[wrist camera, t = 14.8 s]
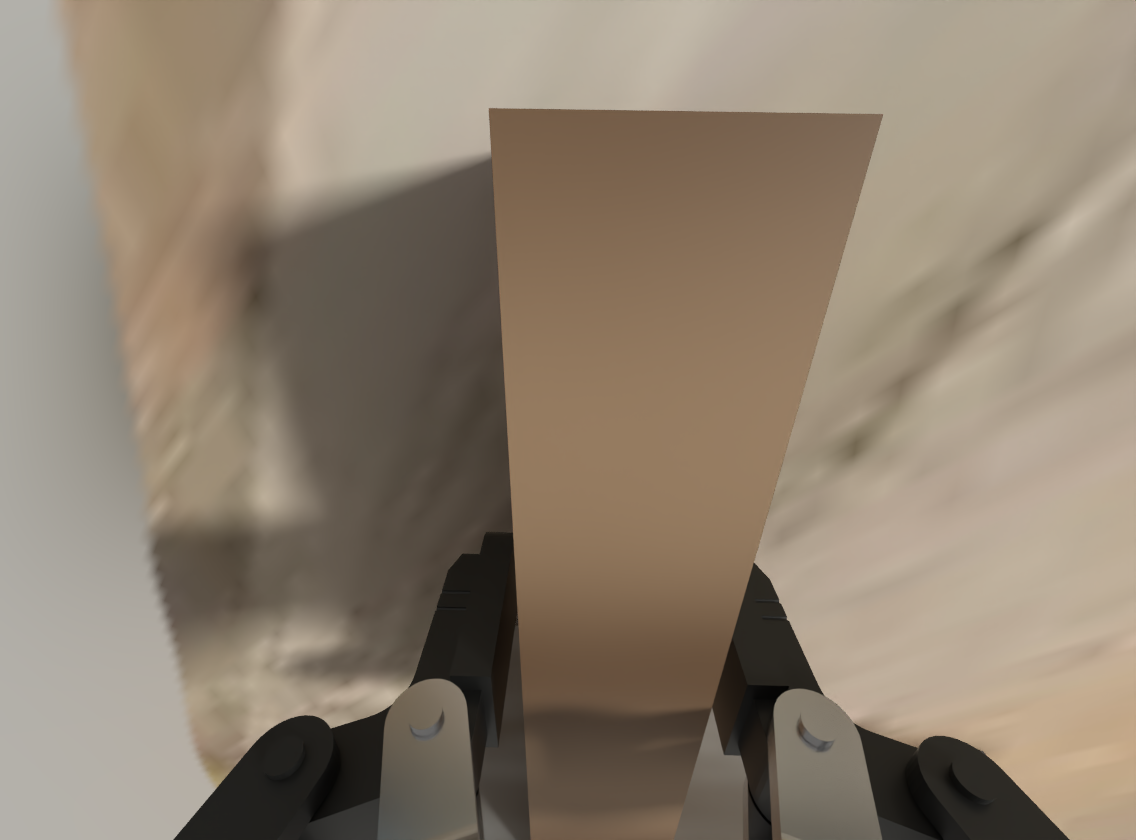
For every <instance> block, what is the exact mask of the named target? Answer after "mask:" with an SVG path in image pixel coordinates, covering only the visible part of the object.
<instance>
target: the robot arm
mask: <svg viewBox="0 0 1136 840" xmlns="http://www.w3.org/2000/svg"><path fill="white" fill-rule="evenodd" d="M516 615H517V591H516V574H515V557H514V539H513V533H506V532H486V534H485V536H484V540H483V544H482V548H481V552H480V554H462V555H461V556H460V557H459V559H458V560H457V561H456V562H455V563H454V564H453V566H452V567H451V568H450V569H449V570H448V573H447V576H446V580H445V583H444V586H443V589H442V594H441V595H440V598H439V601H438V605H437V610H436V611H435V614H434V617H433V620H432V623H431V627H430V630H429V633H428V636H427V639H426V642H425V645H424V648H423V652H422V655H421V658H420V661H419V664H418V667H417V670H416V673H415V676H414V678H413V681H412V682H411V684H410V686H409V687H408V689H406V690H405V691H404V692H403V693H402V694H401V695H400V696H399V697H398V698H397V699H396V700H395V702H394V703H393V704H392V705H391V706H390V707H388V708H387V709H385V710H383V711H381V712H380V713H378V714H375V715H373V716H370V717H367V718H364V719H361V720H357V721H354V722H351V723H348V724H344V725H341V726H338V727H335V728H332V729H330V727H329V725H328V724H327V723H326V722H325V721H324V720H322V719H320V718H319V717H315V716H307V715H305V716H298V717H294V718H290V719H288V720H286V721H283V722H281V723H279V724H278V725H276V726H274V727H273V728H271V729H270V730H269V731H267V732H266V733H265V734H264V735H263V736H261V737H260V738H259V739H258V740H257V741H256V743H255V744H254V745H253V746H252V747H251V748H250V749H249V751H248V752H247V753H246V754H245V755H244V756H243V758H242V759H241V760H240V761H239V762H238V764H237V765H236V766H235V767H234V768H233V770H232V771H231V772H230V773H229V774H228V775H227V777H226V778H225V779H224V780H223V781H222V783H221V784H220V785H219V786H218V787H217V789H216V790H215V791H214V792H213V793H212V795H211V796H210V797H209V798H208V799H207V800H206V802H205V803H204V804H203V805H202V806H201V808H200V809H199V810H198V811H197V812H196V813H195V815H194V816H193V817H192V818H191V819H190V821H189V822H188V823H187V824H186V826H185V827H184V828H183V829H182V830H181V831H180V832H179V834H178V835H177V836H176V837H175V839H174V840H485V837H484V826H483V816H482V806H481V795H480V785H479V783H480V778H481V772H482V766H483V760H484V753H485V747H495V748H498V747H499V739H500V732H501V725H502V718H503V710H504V703H505V696H506V688H507V681H508V674H509V666H510V659H511V652H512V645H513V637H514V630H515V623H516ZM712 709H713V713H714V717H715V721H716V725H717V729H718V733H719V737H720V741H721V746H722V750H723V754H724V755H734V756H741V758H742V762H743V765H744V769H745V773H746V777H745V780H744V784H743V840H1069V839H1068V838H1067V837H1066V836H1065V835H1064V833H1063V832H1062V831H1061V830H1060V829H1059V828H1058V827H1057V826H1056V825H1055V824H1054V823H1053V822H1052V821H1051V820H1050V819H1049V818H1048V817H1047V816H1046V815H1045V814H1044V813H1043V812H1042V811H1041V810H1040V808H1039V807H1038V806H1037V805H1036V804H1035V803H1034V802H1033V801H1032V800H1031V799H1030V798H1029V797H1028V796H1027V795H1026V794H1025V793H1024V792H1023V791H1022V790H1021V789H1020V788H1019V787H1018V786H1017V785H1016V783H1015V782H1014V781H1013V780H1012V779H1011V778H1010V777H1009V776H1008V775H1007V774H1006V773H1005V772H1004V771H1003V770H1002V769H1001V768H1000V767H999V766H998V765H997V764H996V763H995V762H994V761H992V760H991V759H990V758H989V757H987V756H986V755H985V754H983V753H982V752H981V751H979V750H978V749H976V748H974V747H972V746H971V745H969V744H967V743H965V742H962V741H960V740H958V739H954V738H951V737H946V736H933V737H929V738H927V739H926V740H924V741H923V742H922V743H921V745H920V746H919V747H918V748H916V747H913V746H910V745H907V744H904V743H902V742H899V741H896V740H893V739H890V738H887V737H884V736H881V735H879V734H876V733H873V732H870V731H868V730H865V729H863V728H861V727H860V726H858V725H856V724H854V723H853V722H852V720H851V719H850V718H849V716H848V715H847V714H846V713H845V712H844V711H843V710H842V709H841V708H840V707H839V706H838V705H837V704H836V703H834V702H833V701H832V700H830V699H829V698H827V697H825V696H824V694H823V693H822V691H821V689H820V687H819V686H818V683H817V681H816V679H815V677H814V675H813V673H812V670H811V668H810V666H809V664H808V662H807V659H806V657H805V655H804V653H803V651H802V649H801V646H800V644H799V642H798V640H797V638H796V635H795V633H794V631H793V629H792V627H791V625H790V622H789V621H787V616H786V614H785V611H784V609H783V607H782V605H781V604H780V603H779V598H778V596H777V594H776V592H775V590H774V588H773V585H772V583H771V581H770V579H769V578H768V577H767V576H766V575H765V574H764V573H763V572H762V571H761V570H760V569H759V568H758V566H757V565H756V564H755V563H753V567H752V570H751V574H750V577H749V581H748V584H747V588H746V591H745V595H744V598H743V601H742V605H741V608H740V612H739V615H738V619H737V622H736V626H735V629H734V633H733V636H732V640H731V643H730V646H729V650H728V653H727V657H726V660H725V664H724V667H723V671H722V674H721V678H720V681H719V685H718V688H717V691H716V695H715V698H714V702H713V705H712Z"/></svg>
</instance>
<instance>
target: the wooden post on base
mask: <svg viewBox="0 0 1136 840" xmlns="http://www.w3.org/2000/svg"><path fill="white" fill-rule="evenodd" d="M882 117H883V114H829V113H763V112H696V111H630V110H564V109H498V108H489V120H490V138H491V155H492V172H493V190H494V207H495V225H496V242H497V260H498V277H499V295H500V312H501V330H502V347H503V365H504V382H505V399H506V417H507V434H508V452H509V469H510V487H511V504H512V522H513V539H514V557H515V574H516V591H517V609H518V626H515V630H514V637H513V645H512V652H511V659H510V666H509V674H508V681H507V688H506V696H505V703H504V710H503V718H502V725H501V732H500V739H499V747H498V748H495V747H485V753H484V760H483V766H482V772H481V778H480V783H479V785H480V795H481V806H482V816H483V826H484V837H485V840H743V784H744V780H745V777H746V773H745V769H744V765H743V762H742V758H741V756H734V755H724V754H723V750H722V746H721V741H720V737H719V733H718V729H717V725H716V721H715V717H714V713H713V709H712V705H713V702H714V698H715V695H716V691H717V688H718V685H719V681H720V678H721V674H722V671H723V667H724V664H725V660H726V657H727V653H728V650H729V646H730V643H731V640H732V636H733V633H734V629H735V626H736V622H737V619H738V615H739V612H740V608H741V605H742V601H743V598H744V595H745V591H746V588H747V584H748V581H749V577H750V574H751V570H752V567H753V563H754V560H755V556H756V553H757V550H758V546H759V543H760V539H761V536H762V532H763V529H764V525H765V522H766V518H767V515H768V511H769V508H770V505H771V501H772V498H773V494H774V491H775V487H776V484H777V480H778V477H779V473H780V470H781V466H782V463H783V460H784V456H785V453H786V449H787V446H788V442H789V439H790V435H791V432H792V428H793V425H794V421H795V418H796V414H797V411H798V408H799V404H800V401H801V397H802V394H803V390H804V387H805V383H806V380H807V376H808V373H809V369H810V366H811V363H812V359H813V356H814V352H815V349H816V345H817V342H818V338H819V335H820V331H821V328H822V324H823V321H824V318H825V314H826V311H827V307H828V304H829V300H830V297H831V293H832V290H833V286H834V283H835V279H836V276H837V273H838V269H839V266H840V262H841V259H842V255H843V252H844V248H845V245H846V241H847V238H848V234H849V231H850V228H851V224H852V221H853V217H854V214H855V210H856V207H857V203H858V200H859V196H860V193H861V189H862V186H863V183H864V179H865V176H866V172H867V169H868V165H869V162H870V158H871V155H872V151H873V148H874V144H875V141H876V138H877V134H878V131H879V127H880V124H881V120H882Z"/></svg>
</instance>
